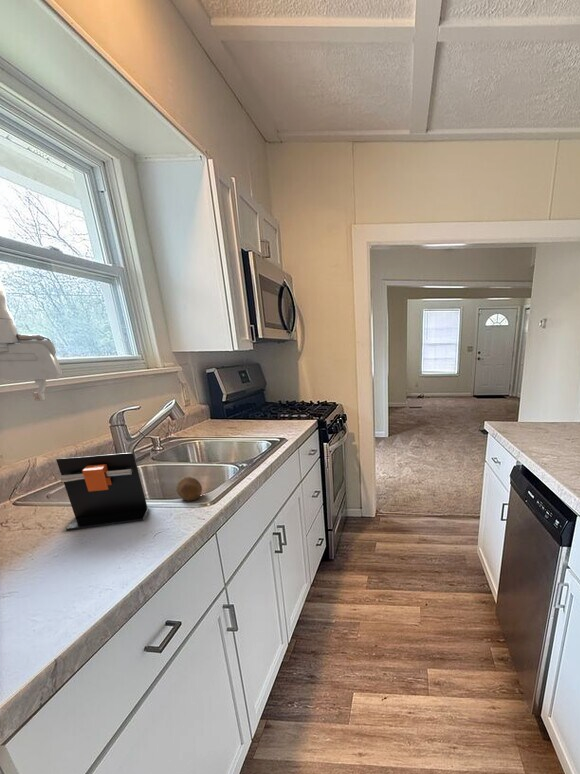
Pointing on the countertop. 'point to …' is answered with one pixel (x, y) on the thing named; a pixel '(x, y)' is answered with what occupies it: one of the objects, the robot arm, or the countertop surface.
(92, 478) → the block
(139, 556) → the countertop surface
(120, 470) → the oven panel
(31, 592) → the countertop surface
